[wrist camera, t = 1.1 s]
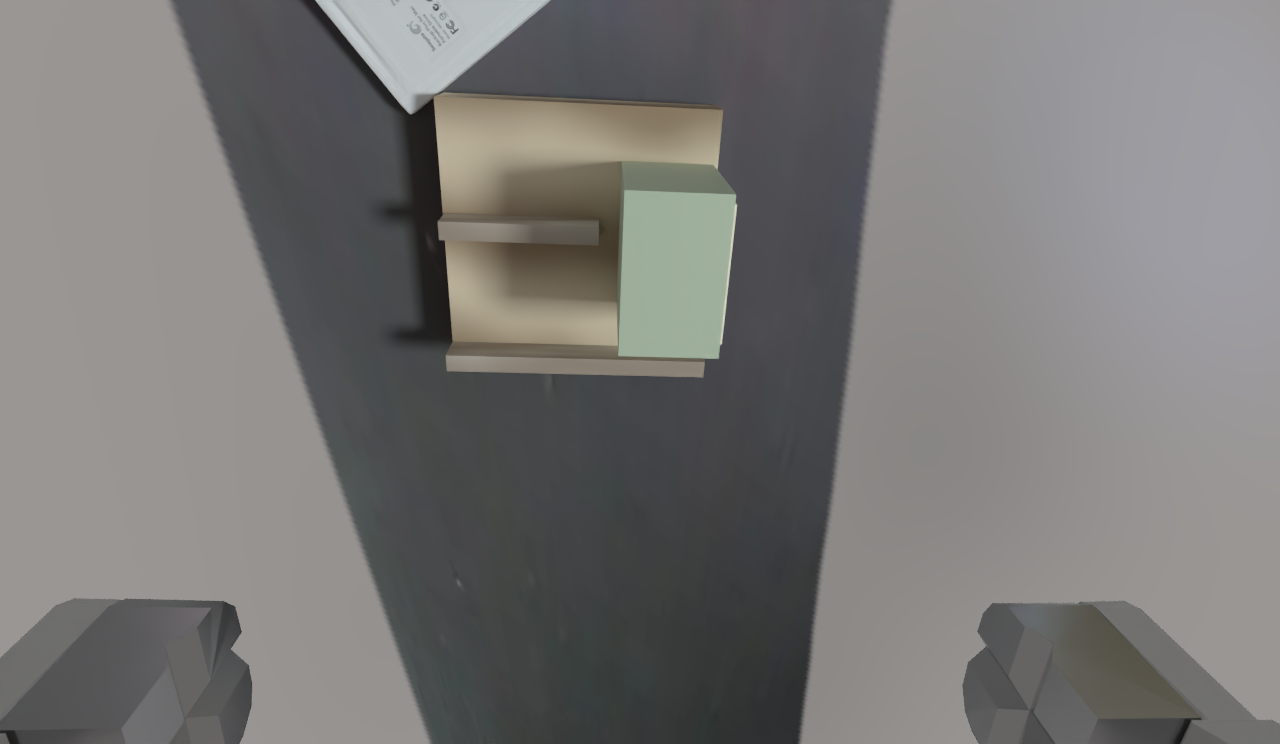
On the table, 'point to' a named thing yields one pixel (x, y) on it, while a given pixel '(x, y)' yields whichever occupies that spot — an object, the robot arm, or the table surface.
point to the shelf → (549, 225)
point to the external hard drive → (425, 38)
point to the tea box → (673, 259)
